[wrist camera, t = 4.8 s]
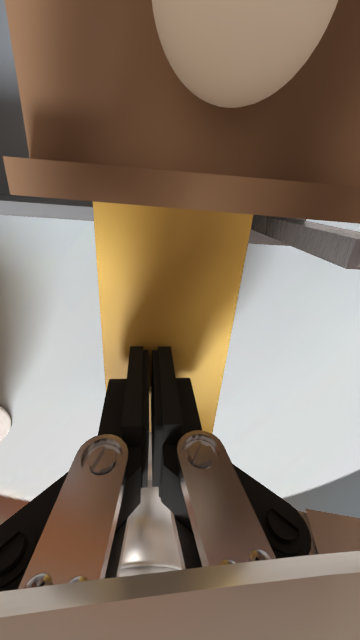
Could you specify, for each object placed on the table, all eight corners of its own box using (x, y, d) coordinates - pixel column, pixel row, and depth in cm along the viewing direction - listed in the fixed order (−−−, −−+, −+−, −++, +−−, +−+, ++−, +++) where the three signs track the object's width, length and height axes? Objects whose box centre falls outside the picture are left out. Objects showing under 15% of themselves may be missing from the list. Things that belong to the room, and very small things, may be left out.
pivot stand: (363, -28, 14) (937, -617, 4) (292, 243, 20) (431, 299, 10) (254, -50, 13) (597, -851, 3) (216, 239, 19) (284, 293, 9)
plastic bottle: (147, 362, 24) (133, 884, 6) (191, 403, 26) (268, 840, 9) (97, 398, 25) (-39, 910, 7) (143, 433, 28) (126, 864, 10)
